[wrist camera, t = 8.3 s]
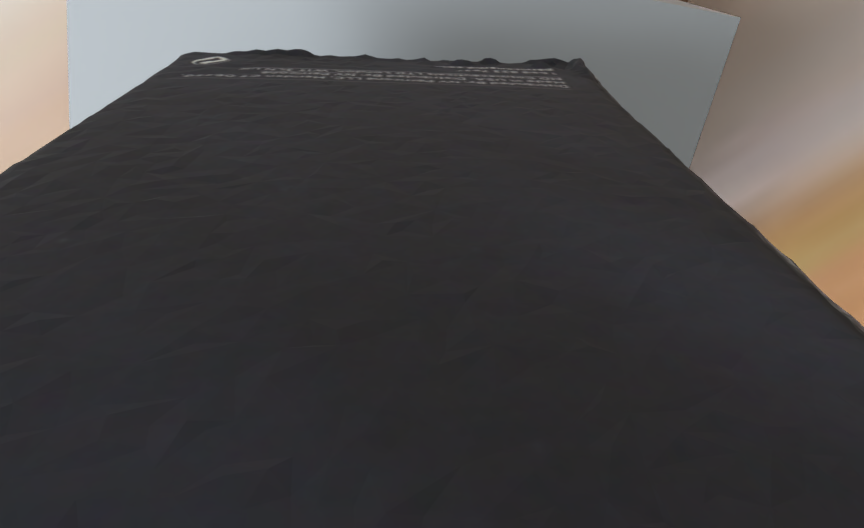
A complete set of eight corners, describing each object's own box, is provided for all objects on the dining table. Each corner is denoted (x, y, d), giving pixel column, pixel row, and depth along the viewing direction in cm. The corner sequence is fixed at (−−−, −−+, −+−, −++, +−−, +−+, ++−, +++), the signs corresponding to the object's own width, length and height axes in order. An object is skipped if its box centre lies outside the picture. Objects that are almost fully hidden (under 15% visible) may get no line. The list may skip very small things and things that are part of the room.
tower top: (665, -4, 19) (740, 17, 15) (542, 409, 24) (572, 509, 20) (142, -108, 17) (63, -117, 13) (134, 358, 22) (76, 454, 18)
